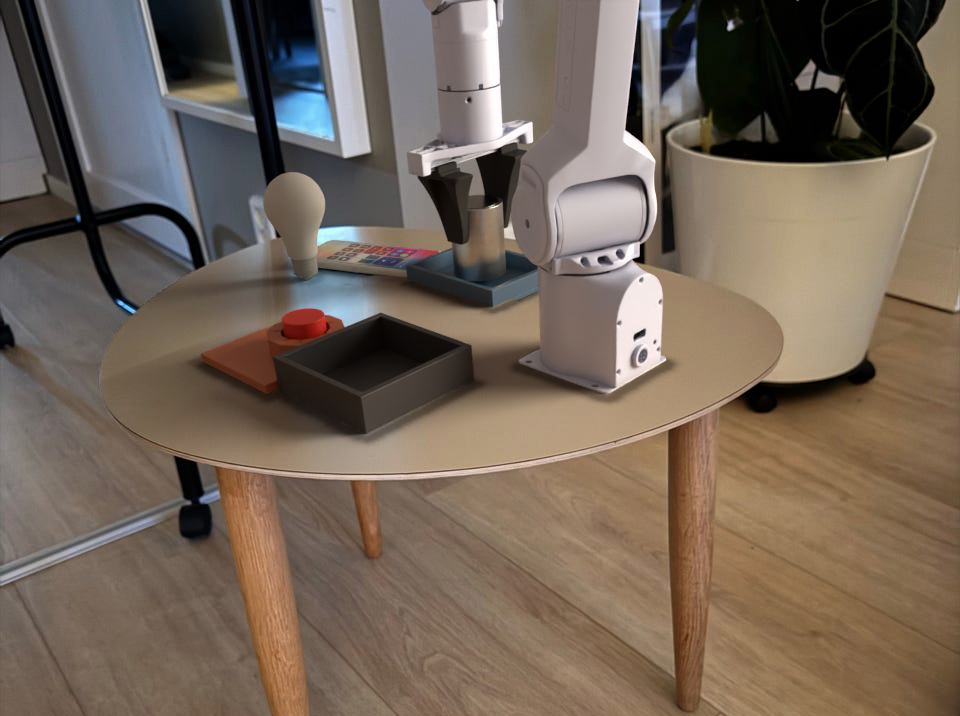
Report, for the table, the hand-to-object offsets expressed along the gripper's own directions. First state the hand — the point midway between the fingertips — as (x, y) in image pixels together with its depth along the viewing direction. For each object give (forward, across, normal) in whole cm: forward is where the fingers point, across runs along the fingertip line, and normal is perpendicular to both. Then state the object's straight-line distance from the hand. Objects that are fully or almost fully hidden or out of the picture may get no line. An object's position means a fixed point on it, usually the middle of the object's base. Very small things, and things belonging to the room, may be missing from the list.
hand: (478, 234), depth 92 cm
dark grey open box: (+5, +22, +10) cm, 25 cm away
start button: (+2, +22, +1) cm, 22 cm away
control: (+5, +24, -1) cm, 25 cm away
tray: (+5, 0, 0) cm, 5 cm away
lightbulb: (+5, +10, -16) cm, 20 cm away
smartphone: (+5, +3, -14) cm, 15 cm away
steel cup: (+4, 0, 0) cm, 4 cm away
